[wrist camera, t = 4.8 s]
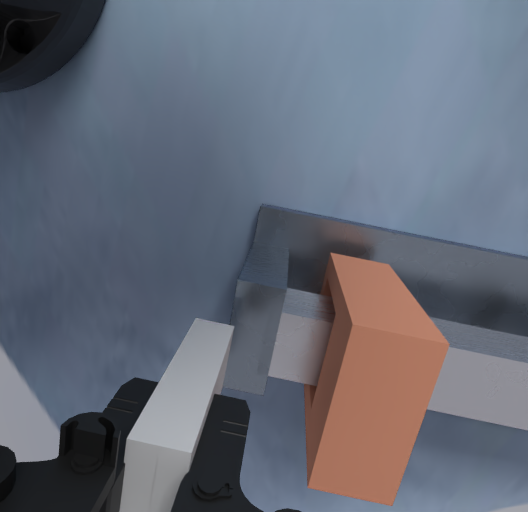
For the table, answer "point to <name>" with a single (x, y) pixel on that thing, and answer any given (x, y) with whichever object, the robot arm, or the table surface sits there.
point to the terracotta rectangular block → (370, 382)
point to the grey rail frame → (420, 286)
